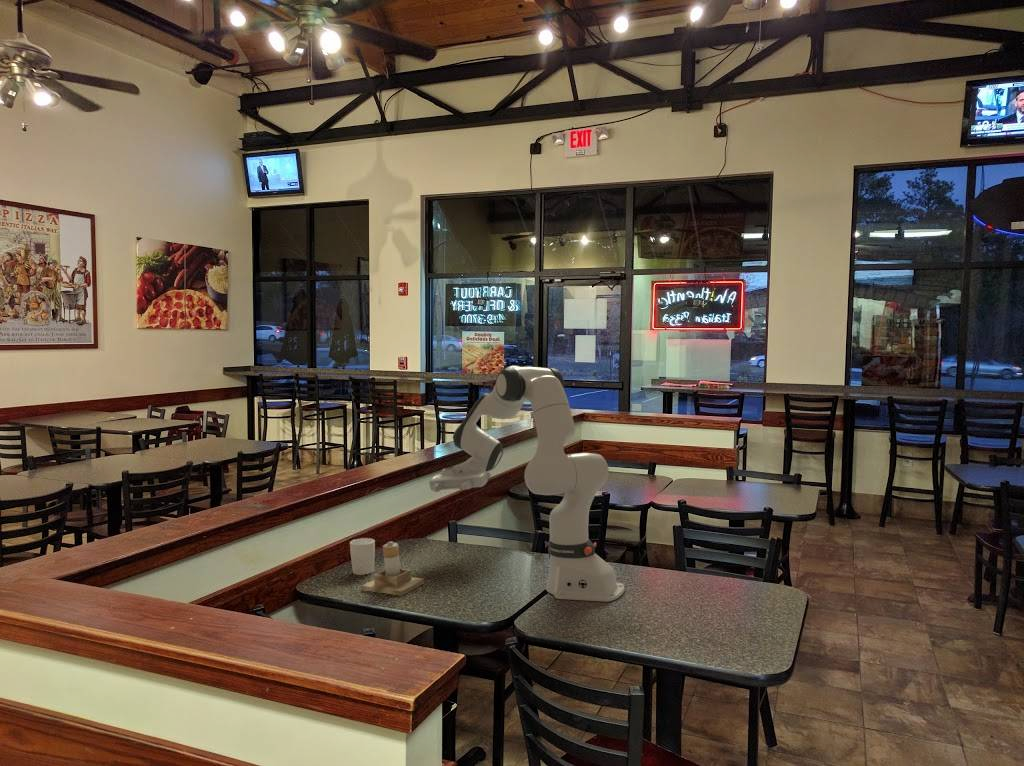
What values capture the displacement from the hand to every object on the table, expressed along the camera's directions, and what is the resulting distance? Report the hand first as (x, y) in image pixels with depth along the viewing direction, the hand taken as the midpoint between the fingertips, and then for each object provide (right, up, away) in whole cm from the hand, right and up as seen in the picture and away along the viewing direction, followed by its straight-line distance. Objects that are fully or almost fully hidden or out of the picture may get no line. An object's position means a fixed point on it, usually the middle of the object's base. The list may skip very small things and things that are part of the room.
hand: (448, 488), depth 233 cm
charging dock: (-14, -26, -21) cm, 37 cm away
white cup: (-27, -26, -5) cm, 38 cm away
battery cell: (-14, -25, -21) cm, 36 cm away
